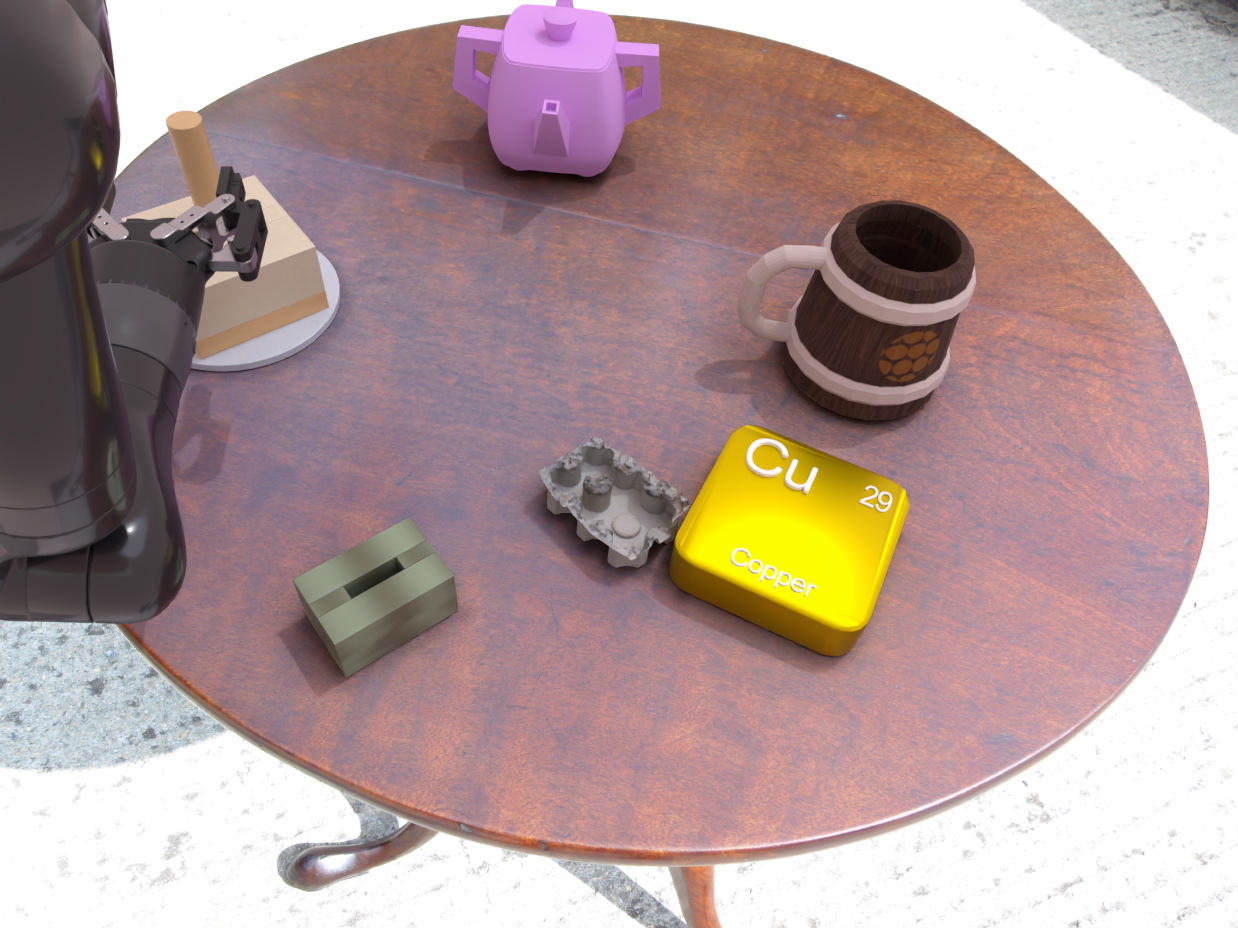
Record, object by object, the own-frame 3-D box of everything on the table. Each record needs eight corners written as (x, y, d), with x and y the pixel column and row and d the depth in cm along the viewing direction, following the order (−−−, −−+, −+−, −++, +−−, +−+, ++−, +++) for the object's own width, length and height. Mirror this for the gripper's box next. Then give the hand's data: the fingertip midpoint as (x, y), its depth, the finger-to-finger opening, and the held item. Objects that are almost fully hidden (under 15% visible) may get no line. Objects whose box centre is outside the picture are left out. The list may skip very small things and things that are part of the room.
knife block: (346, 678, 63) (334, 644, 59) (305, 615, 66) (291, 579, 62) (458, 610, 67) (454, 575, 63) (416, 553, 70) (409, 516, 66)
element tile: (659, 582, 70) (666, 548, 66) (731, 448, 78) (741, 411, 75) (846, 668, 67) (865, 637, 63) (899, 518, 75) (919, 483, 72)
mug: (922, 318, 91) (982, 189, 79) (949, 435, 81) (1021, 309, 70) (723, 300, 90) (752, 167, 78) (727, 415, 81) (761, 285, 69)
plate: (103, 363, 79) (100, 356, 78) (173, 231, 90) (171, 224, 89) (315, 379, 80) (313, 373, 79) (358, 246, 91) (357, 240, 90)
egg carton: (689, 533, 73) (697, 503, 70) (620, 585, 69) (625, 557, 66) (600, 450, 77) (604, 419, 74) (530, 496, 74) (531, 465, 70)
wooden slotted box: (200, 359, 79) (176, 298, 73) (147, 281, 84) (120, 218, 79) (329, 307, 84) (315, 246, 78) (270, 236, 89) (254, 174, 84)
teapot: (562, 84, 112) (565, -46, 100) (671, 152, 105) (690, 21, 93) (437, 141, 103) (425, 6, 91) (548, 220, 96) (551, 85, 84)
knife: (221, 292, 81) (167, 135, 69) (208, 276, 82) (153, 118, 70) (260, 278, 83) (213, 121, 70) (247, 262, 84) (199, 105, 72)
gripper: (234, 282, 56) (259, 130, 65) (-23, 290, 53) (42, 131, 63) (262, 368, 62) (280, 217, 71) (31, 379, 59) (83, 221, 69)
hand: (168, 177), depth 67 cm, fingers open, 8 cm apart
